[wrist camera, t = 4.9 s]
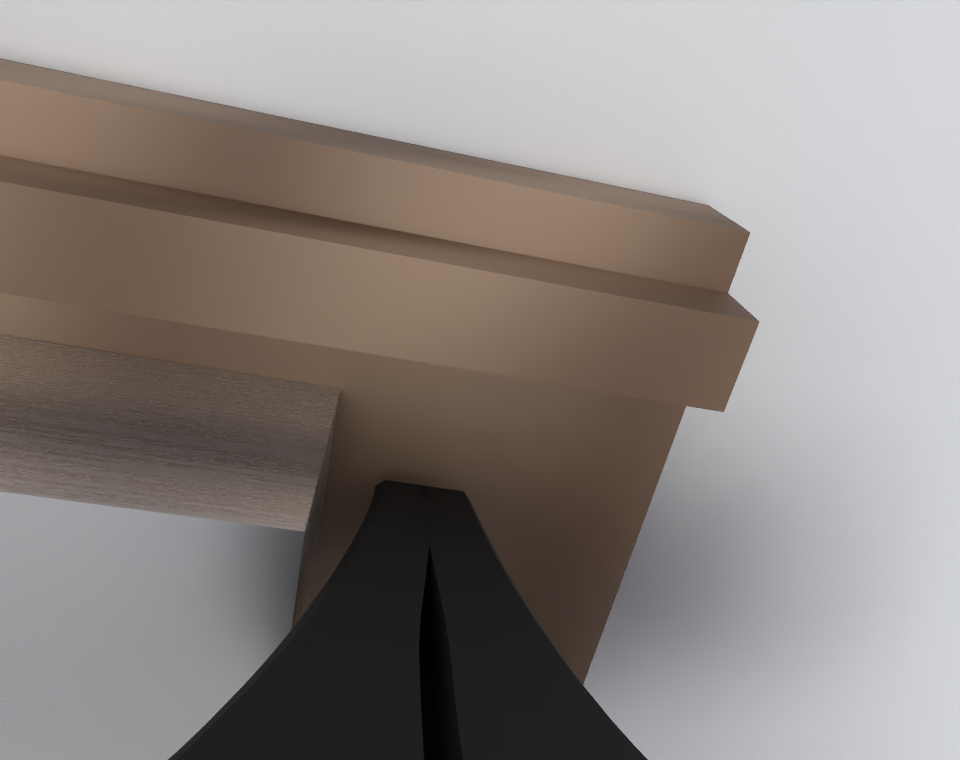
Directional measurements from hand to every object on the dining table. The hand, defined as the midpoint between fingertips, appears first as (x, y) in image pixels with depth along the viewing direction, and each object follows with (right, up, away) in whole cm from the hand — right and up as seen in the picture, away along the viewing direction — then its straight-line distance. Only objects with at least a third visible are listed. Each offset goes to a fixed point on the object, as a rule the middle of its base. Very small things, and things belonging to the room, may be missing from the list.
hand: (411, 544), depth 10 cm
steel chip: (-4, +1, 0) cm, 4 cm away
